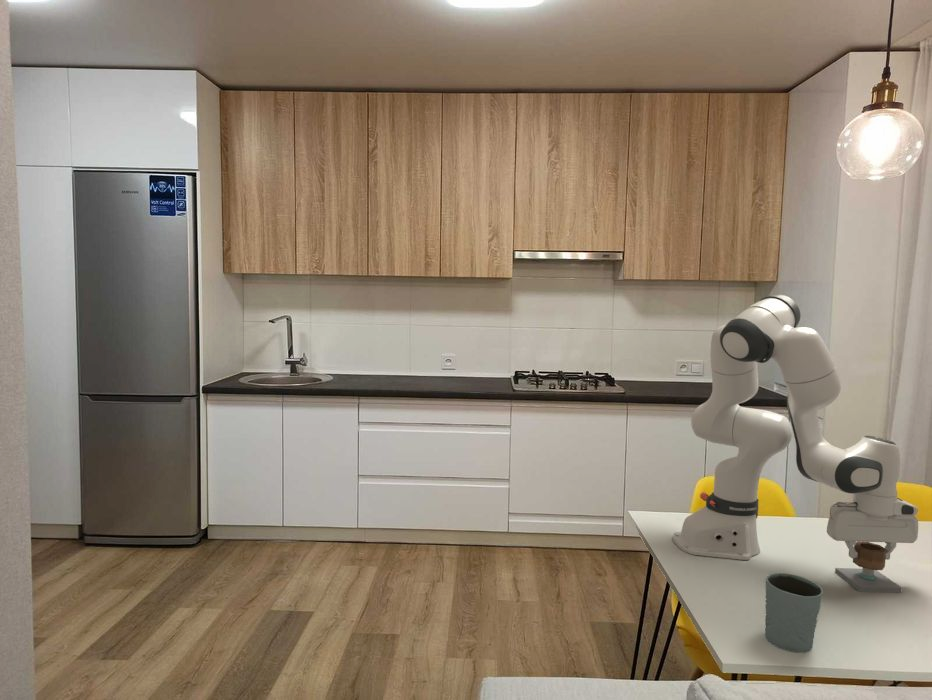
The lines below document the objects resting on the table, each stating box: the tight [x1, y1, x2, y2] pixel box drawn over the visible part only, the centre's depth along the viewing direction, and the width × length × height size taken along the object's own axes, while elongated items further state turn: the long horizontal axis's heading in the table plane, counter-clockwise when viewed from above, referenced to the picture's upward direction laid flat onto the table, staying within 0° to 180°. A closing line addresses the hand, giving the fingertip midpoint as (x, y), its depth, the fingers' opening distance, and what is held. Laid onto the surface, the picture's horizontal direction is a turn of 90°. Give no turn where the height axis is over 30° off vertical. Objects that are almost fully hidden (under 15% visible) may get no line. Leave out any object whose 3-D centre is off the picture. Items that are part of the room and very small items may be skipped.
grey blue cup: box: [764, 572, 824, 654], centre depth 127 cm, size 10×10×12 cm
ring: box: [852, 541, 887, 571], centre depth 155 cm, size 6×6×4 cm
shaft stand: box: [834, 567, 903, 593], centre depth 155 cm, size 10×10×7 cm
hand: (869, 558), depth 155 cm, fingers closed on ring, 6 cm apart
